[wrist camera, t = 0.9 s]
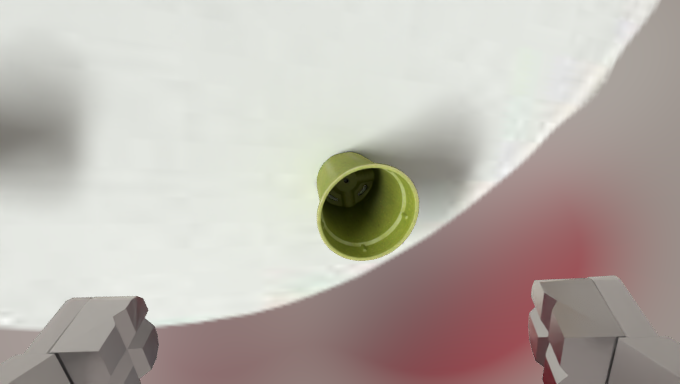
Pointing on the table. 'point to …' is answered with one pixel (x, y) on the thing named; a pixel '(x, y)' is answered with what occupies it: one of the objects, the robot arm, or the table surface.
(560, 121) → the table surface
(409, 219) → the plant pot
